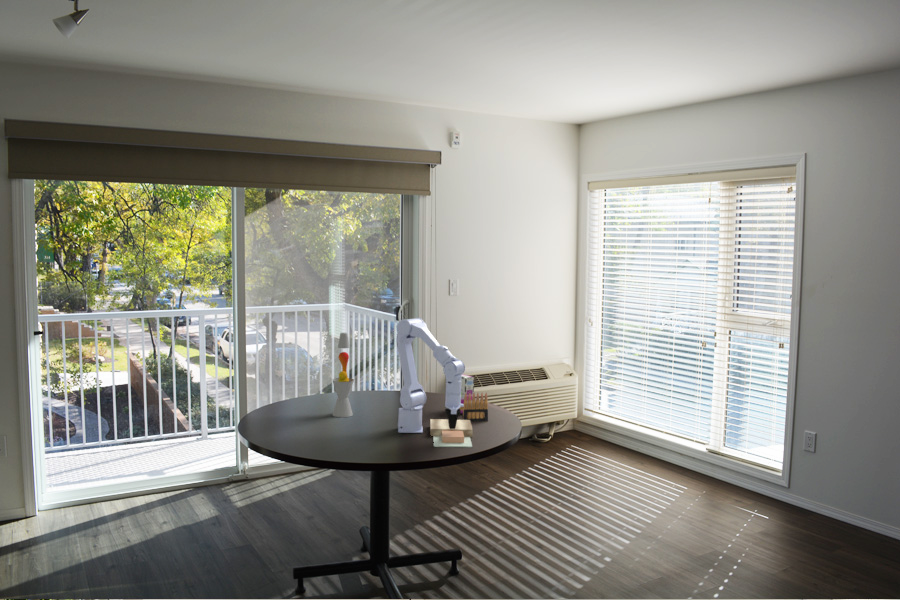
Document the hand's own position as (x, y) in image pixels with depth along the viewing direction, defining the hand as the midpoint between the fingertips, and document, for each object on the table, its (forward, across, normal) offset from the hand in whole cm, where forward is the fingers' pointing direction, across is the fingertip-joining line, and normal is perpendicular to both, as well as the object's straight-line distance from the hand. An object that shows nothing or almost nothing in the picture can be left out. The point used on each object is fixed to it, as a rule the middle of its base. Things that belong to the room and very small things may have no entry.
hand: (452, 428), depth 240 cm
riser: (+4, +11, 0) cm, 12 cm away
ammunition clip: (+5, +28, -11) cm, 30 cm away
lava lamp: (+5, +34, +45) cm, 56 cm away
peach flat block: (+4, -1, 0) cm, 4 cm away
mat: (+4, -3, 0) cm, 5 cm away
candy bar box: (+5, +42, -6) cm, 43 cm away
